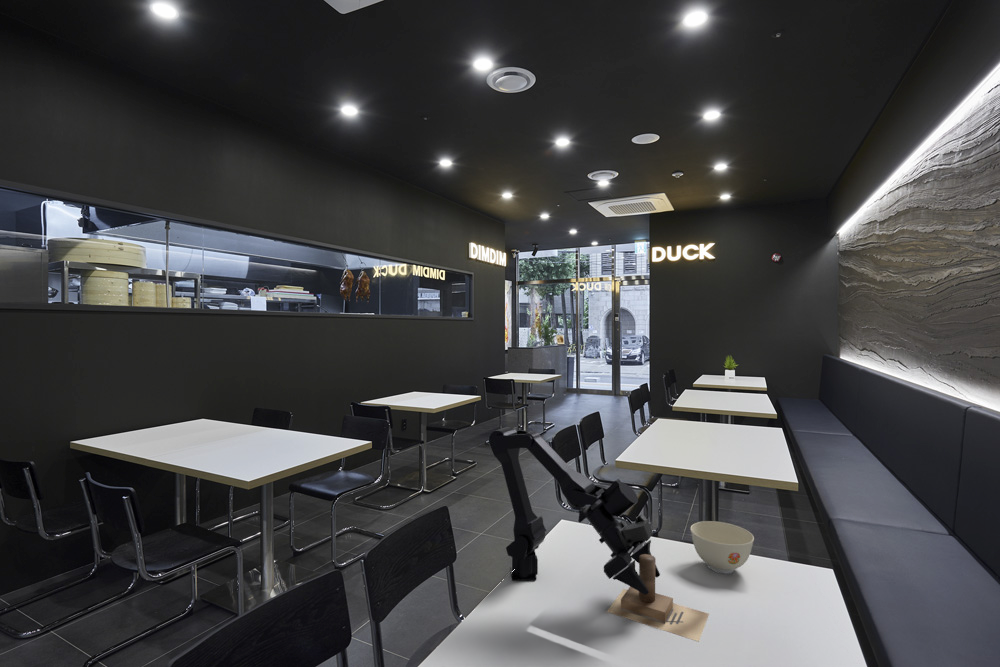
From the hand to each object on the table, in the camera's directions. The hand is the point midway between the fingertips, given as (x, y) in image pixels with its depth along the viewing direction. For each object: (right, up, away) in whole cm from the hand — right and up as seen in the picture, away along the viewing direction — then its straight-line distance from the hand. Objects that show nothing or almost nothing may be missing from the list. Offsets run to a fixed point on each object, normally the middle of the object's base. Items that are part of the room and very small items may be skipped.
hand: (653, 584), depth 115 cm
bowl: (+26, -7, +23) cm, 35 cm away
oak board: (+1, -7, 0) cm, 7 cm away
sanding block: (-1, -6, +1) cm, 6 cm away
